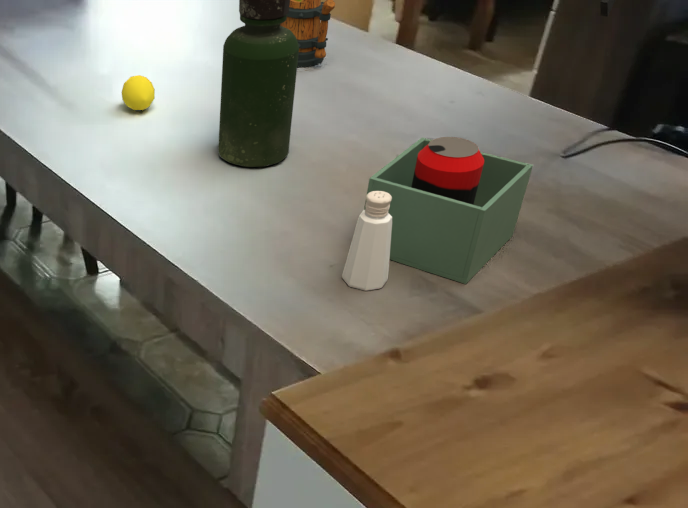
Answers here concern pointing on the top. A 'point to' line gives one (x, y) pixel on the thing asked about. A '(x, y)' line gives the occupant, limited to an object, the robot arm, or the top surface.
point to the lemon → (138, 92)
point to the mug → (309, 29)
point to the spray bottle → (258, 86)
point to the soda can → (449, 169)
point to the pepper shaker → (370, 245)
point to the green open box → (451, 216)
